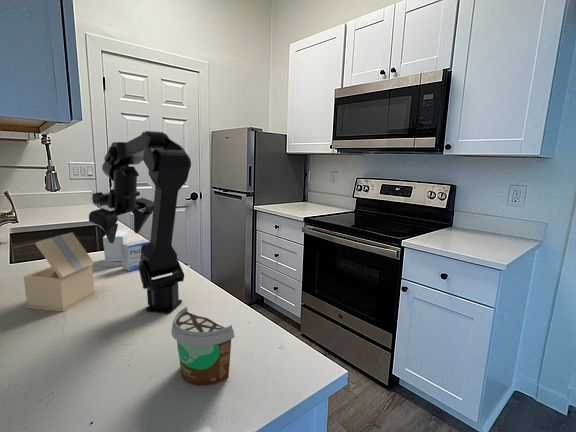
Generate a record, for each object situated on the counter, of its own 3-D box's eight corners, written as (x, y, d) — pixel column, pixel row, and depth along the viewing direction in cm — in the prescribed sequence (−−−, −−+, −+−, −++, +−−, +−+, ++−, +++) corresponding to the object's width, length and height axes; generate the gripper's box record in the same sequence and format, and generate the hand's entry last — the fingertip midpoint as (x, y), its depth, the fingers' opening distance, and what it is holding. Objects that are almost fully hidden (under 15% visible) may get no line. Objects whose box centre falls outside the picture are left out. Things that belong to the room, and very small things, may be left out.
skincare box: (112, 257, 118) (110, 229, 116) (131, 256, 120) (129, 229, 118) (104, 267, 108) (101, 236, 107) (125, 265, 110) (123, 235, 108)
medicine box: (129, 272, 104) (127, 246, 103) (122, 269, 107) (120, 243, 105) (152, 265, 111) (150, 241, 109) (145, 263, 113) (143, 239, 112)
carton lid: (92, 265, 86) (94, 263, 85) (60, 278, 76) (63, 276, 76) (69, 233, 85) (72, 231, 85) (34, 243, 75) (37, 241, 75)
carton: (94, 294, 87) (92, 266, 86) (63, 311, 77) (60, 279, 76) (62, 291, 89) (58, 263, 87) (27, 307, 79) (23, 276, 77)
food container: (158, 372, 56) (155, 319, 55) (187, 354, 61) (184, 305, 60) (207, 402, 50) (205, 343, 48) (235, 380, 55) (234, 325, 53)
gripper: (129, 175, 101) (128, 221, 106) (72, 185, 84) (74, 239, 89) (158, 184, 98) (155, 231, 103) (105, 197, 81) (105, 252, 86)
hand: (124, 237), depth 96 cm, fingers open, 9 cm apart
